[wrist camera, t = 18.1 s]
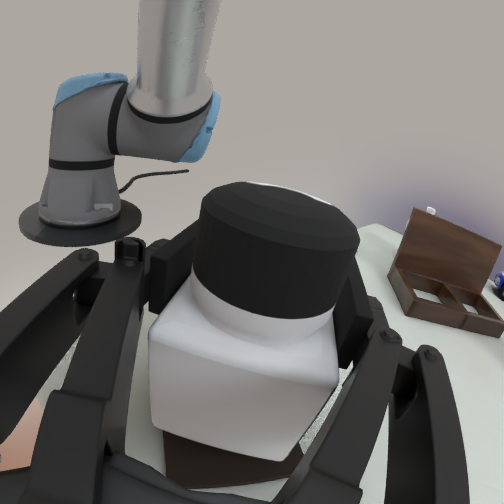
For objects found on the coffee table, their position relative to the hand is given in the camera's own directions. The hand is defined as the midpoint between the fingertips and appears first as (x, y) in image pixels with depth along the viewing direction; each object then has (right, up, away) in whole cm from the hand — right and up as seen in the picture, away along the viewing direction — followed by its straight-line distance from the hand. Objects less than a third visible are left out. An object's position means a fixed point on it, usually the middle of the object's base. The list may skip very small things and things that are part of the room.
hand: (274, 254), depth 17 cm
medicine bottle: (-3, -9, -1) cm, 9 cm away
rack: (+29, -9, +20) cm, 36 cm away
